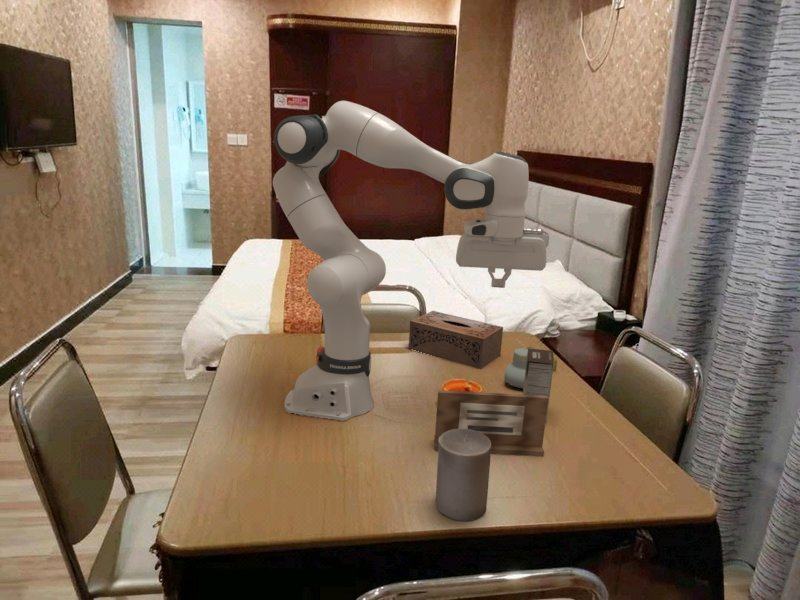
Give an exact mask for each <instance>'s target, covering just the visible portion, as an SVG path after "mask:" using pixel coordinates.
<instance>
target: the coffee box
mask: <svg viewBox="0 0 800 600" xmlns="http://www.w3.org/2000/svg"><path fill="white" fill-rule="evenodd" d="M554 359H555V358H554V350H550V349H549V350H547V349H540V348H535V349H530V348H529V349H528V353H527V361H526V370H525V379H524V388H522V394H524V395H543V396H548V406H547V414H546V421H545V424H547V420H548V419H547V418H548V411H549V405H550V395H551V389H552V380H553V375H554V374H553V373H554V372H553V367H554Z"/></svg>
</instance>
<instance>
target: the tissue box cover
mask: <svg viewBox="0 0 800 600" xmlns="http://www.w3.org/2000/svg"><path fill="white" fill-rule="evenodd" d="M503 332H504V326H501V325H500V326H499V325H496V324H492V323H489V322H488V323H487V322H483V321H480V320H475V319H470V318H466V317H461V316H457V315H453V314H449V313H444V312H440V311H436V310H432V311H428V312H427V313H425V314H422V315H420V316H418V317H415V318H414V319H411V320H410V321H409V337H408V350H409V349H413V350H416V351H419V352H418V353H420V352H422V353H421V354H423V353H425V355H427V354H429V355H428V356H431V355H432V356H431V357H434V356H435V358H438V357H439V359H441V358H442V360H445V361H449V362H451V363H456V364H460V365H463V366H467V367H471V368H475V369H478V370H482V369H484V368H485V367H487V366H489V364H491V363H492V362H494V361H495V360H496V359H497V358H499V357H500V356H501V354H502V353H501V352H502V344H503V334H504V333H503ZM416 351H415V352H416Z"/></svg>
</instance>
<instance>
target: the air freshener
mask: <svg viewBox="0 0 800 600" xmlns="http://www.w3.org/2000/svg"><path fill="white" fill-rule="evenodd" d="M527 353H528V349H526V348H523V347H520V348H516V349H514V351H513V356H512V362H510V363H509V364H508V365H507V366H506V368H505V371H504V377H503V379H504V380H505V382H506V383H507V384H508V385H511V386H512V387H515V388H518V389H523V388H524V379H525V370H526V361H527Z"/></svg>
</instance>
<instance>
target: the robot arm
mask: <svg viewBox="0 0 800 600" xmlns="http://www.w3.org/2000/svg"><path fill="white" fill-rule="evenodd" d="M273 144H274V147H275V150H276V152H278V154H279V155H280V156H281V158H283V160H285V161H286V163H285V164H284V166H283V167H281V168H280V169H279V170H278V171H276V173H275V174H274V176H273V178H272V187H273V190H274V193H275V195H276V197H277V198H276V199H277V200H278V203H279V205H280V207H281V209H282V211H283V213H284V214H285V217H286V218H287V220H288V222H289V224H290V225H291V226H292V228H293V230H294V232H295V234H296V235H297V237H298V239H299V241H300V242H301V245H303V246H304V247H305V249H308V250H309V251H311V252H313V253H315V254H316V255H318V256H319V257H320V258H321V259H322V262H320V263H319V264H317V265H316V266H315V267H314V268H313V269H311V270H310V272H309V274H308V276H307V278H306V286H307V287H306V288H307V291H308V294H309V296H310V298H311V299H312V300H313V301H314V302H315V303H317V305H319V308H320V312H321V314H322V318H323V325H324V326H323V327H324V346H318V348H317V349H316V355H315V356H316V358H315V359H316V360H315V361H316V362H315V363H316V364H314V365H313V366H311V367H309V368H308V369H307V370H305V371H304V372H302V373H300V375H299V376H298V378H297V379H296V382H295V384H294V387H293V389H291V390H290V391H289V392H288V394H287V395H286V397H285V399H284V403H283V408H285V409H284V411H285V410H286V411H287V412H288V413H287V412H286V411H285V412H286V413H287V414H290V413H294V414H293V415H296V414H300V415H299V416H303V415H306V416H305V417H310V416H315V417H314V418H317V417H320V418H319V419H323V418H328V419H327V420H330V419H336V420H335V421H337V420H341V421H340V422H345V421H344V420H346V421H348V420H350V419H351V418H353V417H356V416H360V414H361V415H364V414H365V413H368V412H370V411H371V410H372V409H373V408H374V406H375V405H374V404H375V402H374V399H373V395H372V392H371V391H372V390H371V382H370V374H371V371H372V370H371V369H372V357H371V355H372V353H371V351H370V335H371V334H370V333H371V324H370V321H369V319H368V318H367V317H366V316H364V312H363V308H362V297H363V296H364V295H366V294H368V293H370V292H372V291H374V290H375V289H377V287H378V286H379V285H380V284H381V283H382V282H383V281H384V279H385V276H386V273H387V269H386V264H385V260H384V259H383V257H382V256H381V255H380V254H379V253H377V252H376V251H374V250H372V249H370V248H369V247H368V246H366V245H365V244H364V243H363V242H362V241H361V240H360V239H359V238H358V237H357V235H355V234H354V232H352V230H351V229H350V228H349V227H348V226H347V225H346V224H345V222H344V220H343V219H342V217H341V216H340V214H339V212H338V211H337V209H336V208H335V206H334V204H333V203H332V202H331V200H330V198H329V196H328V194H327V192H326V191H325V190H324V188H323V186H322V183H321V182H320V179H319V178H321V177H324V175H326V173H327V171H329V169H330V168H331V167H333V166H334V164H335V163H336V162H337V160H338V159H339V157H340V153H341V151H345V152H347V153H349V154H352V155H353V156H354V157H357V158H358V159H361V160H363V161H364V162H367V163H369V164H372V165H373V166H377V167H381V168H384V169H403V170H404V169H405V170H411V171H416V172H418V173H419V172H420V173H422V174H424V175H426V176H428V177H430V178H432V179H434V180H436V181H438V182H440V183H443V184H444V186H443V192H444V196H445V198H446V200H447V202H448V203H449V204H450V205H451V206H452V207H454V208H455V209H459V210H463V211H470V210H471V211H472V210H474V209H482V208H483V209H484V211H485V212H484V217H481V218H478V219H474V220H469V221H466V222H465V223H464V225H463V231H464V233H463V234H461V236H460V237H459V240H458V244H457V248H456V249H457V250H456V256H455V262H456V264H457V265H458V267H461V268H480V269H487V272H488V274H489V277H490V278H491V283H490V284H491V285H490V286H491V288H502V289H504V288H506V281H507V280H508V279H509V278H510V276H511V275H512V270H523V271H540V272H541V271H543V270H544V269H546V267H547V248H548V246H549V243H550V235H549V233H548V232H547V231H544V229H542V228H541V229H540V228H537V229H535V228H534V229H533V228H526V227H525V221H526V208H525V204H526V200H527V198H528V194H529V180H530V179H529V173H530V172H529V163H528V162H527V160H525V158H523V157H522V156H520V155H517V154H515V153H514V154H513V153H509V152H504V151H495V152H493V154H491V155H490V156H488V157H486V158H483V159H482V160H480V161H476V162H471V163H468V162H463V161H461V160H458V159H456V158H454V157H452V156H450V155H448V154H446V153H443V152H442V151H439V150H438V149H436V148H433V147H432V146H430V145H427V144H426V143H424V142H423V141H421V140H420V139H419V138H418V137H416V136H415V135H413V134H411V133H410V132H409V131H408V130H406V129H405V128H404V127H403V126H401V125H399V124H398V123H396V122H395V121H394V120H392V119H391V118H389V117H387V116H386V115H383V114H382V113H380V112H377V111H375V110H374V109H371V108H369V107H367V106H363V105H361V104H359V103H355V102H353V101H348V100H339V101H337V102H335V103H334V104H333V105H331V106H330V108H329V109H328V110H327V112H326V114H325V116H324V117H322V118H321V117H320V116H319V115H318V114H308V115H307V114H306V115H293V116H292V115H291V116H288V117H286V118H284V119H282V120H281V121H280V122H279V123H278V124H277V126H276V128H275V130H274V133H273ZM496 269H499V270H503V273H504V274H503V276H502V277H501V278H495V275H494V274H495V273H496ZM307 415H308V416H307ZM321 417H322V418H321ZM349 418H350V419H349ZM347 419H348V420H347Z"/></svg>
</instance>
